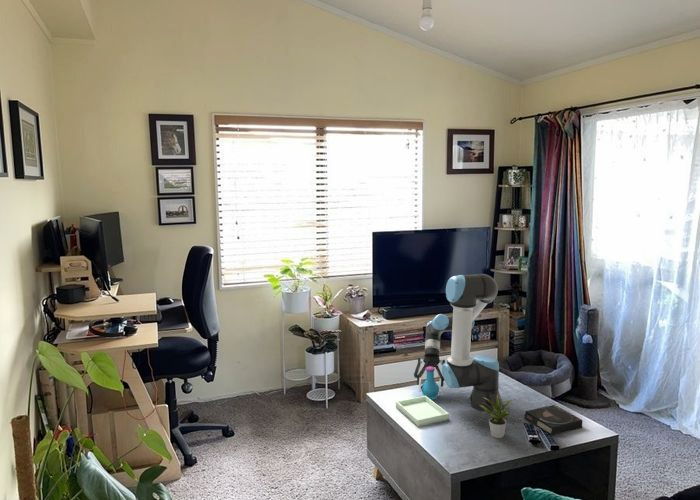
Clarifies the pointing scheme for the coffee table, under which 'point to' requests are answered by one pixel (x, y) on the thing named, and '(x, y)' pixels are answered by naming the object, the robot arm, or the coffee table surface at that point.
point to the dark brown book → (553, 419)
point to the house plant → (497, 417)
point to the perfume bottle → (430, 385)
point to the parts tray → (422, 411)
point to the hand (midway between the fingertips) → (429, 391)
